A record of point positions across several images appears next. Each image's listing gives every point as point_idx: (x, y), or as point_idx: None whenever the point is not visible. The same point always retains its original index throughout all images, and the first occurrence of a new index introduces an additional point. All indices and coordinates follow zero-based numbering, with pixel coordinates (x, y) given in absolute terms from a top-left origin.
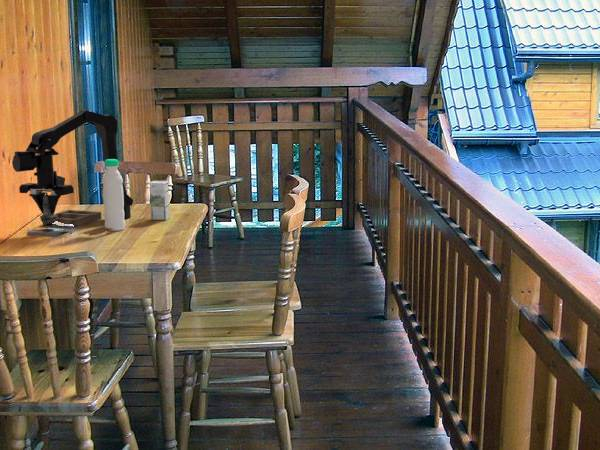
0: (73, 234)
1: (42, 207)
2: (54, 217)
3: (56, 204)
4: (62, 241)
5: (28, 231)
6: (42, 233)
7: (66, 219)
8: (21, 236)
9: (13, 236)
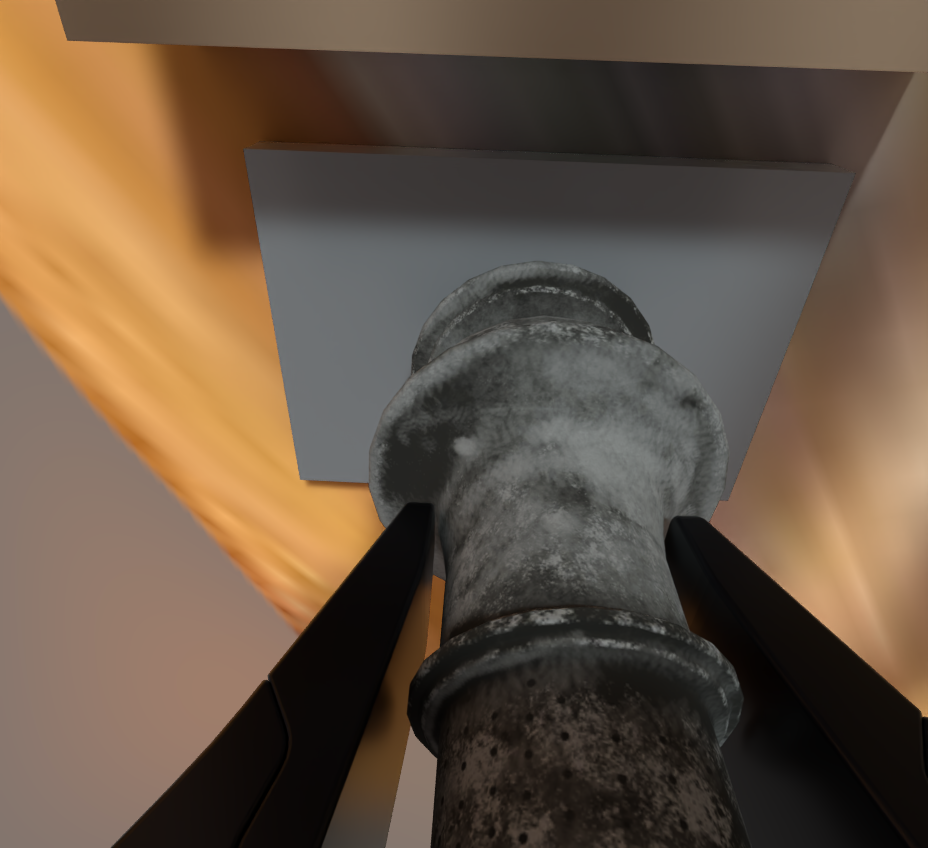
0: (914, 331)
1: (412, 668)
2: (700, 499)
3: (907, 719)
4: (857, 615)
5: (315, 475)
6: None
7: (809, 64)
8: (328, 537)
9: (253, 551)
